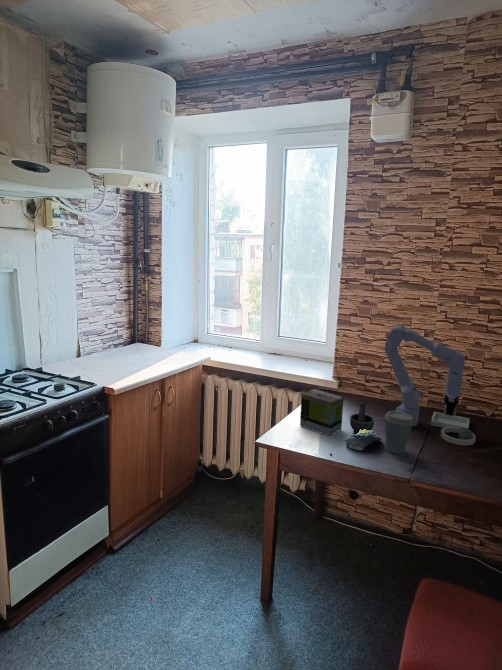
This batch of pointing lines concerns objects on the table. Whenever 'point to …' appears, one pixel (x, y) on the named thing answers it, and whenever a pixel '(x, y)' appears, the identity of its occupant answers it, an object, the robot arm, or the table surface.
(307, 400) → the small aquarium
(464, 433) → the pebble
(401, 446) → the disposable coffee cup
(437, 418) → the parts tray
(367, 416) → the mortar and pestle
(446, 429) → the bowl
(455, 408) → the pebble
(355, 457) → the table surface
